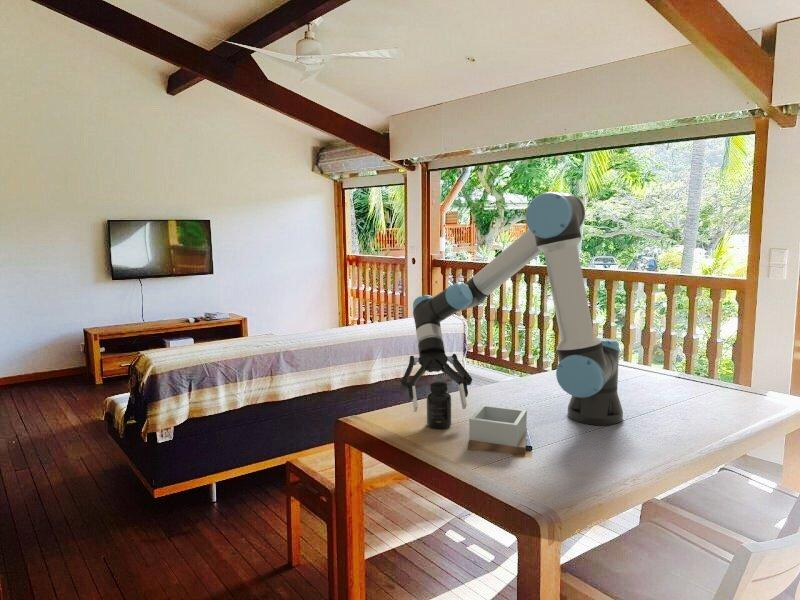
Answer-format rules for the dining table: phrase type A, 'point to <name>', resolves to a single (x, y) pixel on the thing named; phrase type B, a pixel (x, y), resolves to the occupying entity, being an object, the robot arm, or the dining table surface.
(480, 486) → the dining table surface
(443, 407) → the supplement bottle
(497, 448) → the walnut plinth
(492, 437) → the grey square open box
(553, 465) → the dining table surface
